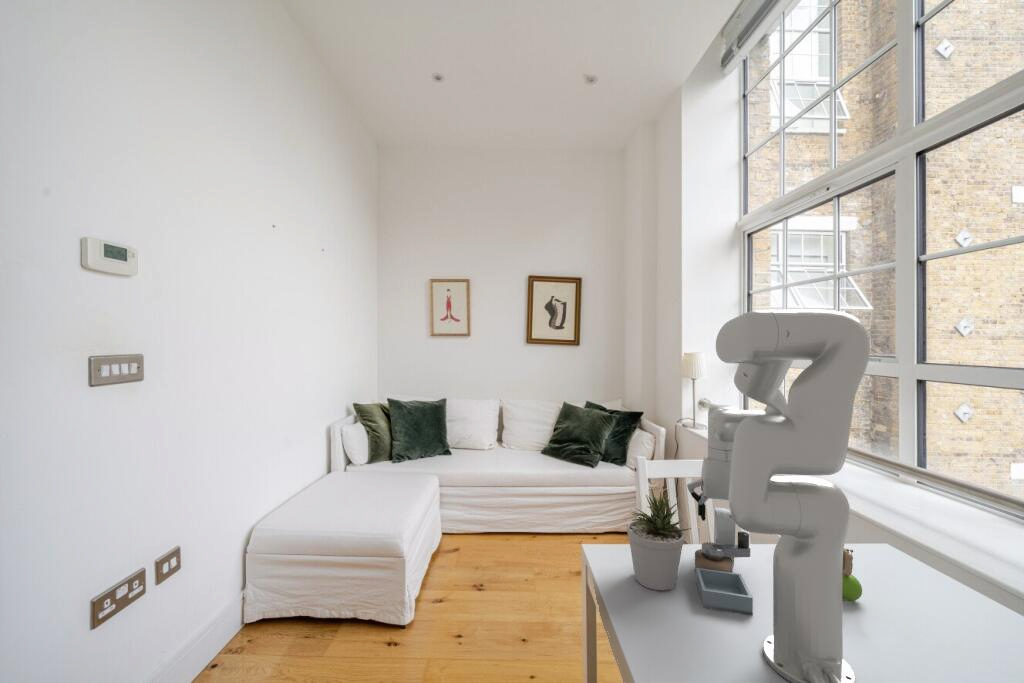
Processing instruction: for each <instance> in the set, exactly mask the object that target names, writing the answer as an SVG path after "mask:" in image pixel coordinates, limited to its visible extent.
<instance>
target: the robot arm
mask: <svg viewBox="0 0 1024 683" xmlns="http://www.w3.org/2000/svg"><path fill="white" fill-rule="evenodd" d="M715 353H716V355H717V357H718V358H719V360H720V361H721V362H723V363H725V364H738V366H737V369H736V371H735V373H734V377H733V383H734V385H735V387H736V389H737V390H738V391H739V392H740V393H742V394H743V395H744V396H746V397H747V398H749V399H752V400H753V401H756V402H758V403H761V404H764V405H766V406H765V408H764V409H763V410H755V409H754V410H753V409H752V410H751V409H748V410H747V409H740V408H738V407H737V406H734V405H727V404H713V405H711V406H709V408H708V410H707V455H705V456H704V457H703V461H702V467H701V475H700V478H699V479H696V480H695V481H691V482H690V483H687V484H686V487H687V490H688V491H689V493H690V495H691V497H692V498H693V499H694V500H695V501H696V502H697V515H698V516H700V519H701V521H703V522H704V521H706V504H705V502H707V501H708V500H709V499H711V500H720V501H727V502H728V506H729V508H728V509H730V513H731V516H732V518H733V520H734V522H735V525H736V526H737V527H739V528H740V529H741V530H744V531H746V532H747V533H748V532H749V533H754V534H763V535H780V538H779V539H778V541H777V543H776V545H775V547H774V551H773V556H772V557H773V558H772V561H773V563H772V567H773V569H772V570H773V571H772V572H773V573H772V574H773V575H772V576H773V577H772V580H773V581H772V582H773V583H772V584H773V587H772V589H773V590H772V591H773V592H772V594H773V595H772V598H773V600H772V601H773V602H772V604H773V605H772V607H773V612H772V613H773V615H772V616H773V619H772V620H773V622H772V625H773V626H772V627H773V630H772V631H773V634H772V635H769V636H768V637H766V638H765V639H764V641H763V644H762V653H763V656H764V658H765V660H766V662H767V663H768V664H769V665H770V667H771V668H772V669H773V670H775V672H776V673H777V674H779V675H780V676H782V677H783V678H784V679H786V680H787V681H789V682H790V683H856V676H855V672H854V671H853V669H852V667H851V666H850V665H849V663H847V661H846V660H845V659H844V658H843V653H844V652H843V645H844V644H843V640H844V639H843V599H842V567H843V550H844V549H845V544H846V538H847V535H848V534H847V533H848V530H849V527H850V521H851V507H850V503H849V500H848V498H847V495H846V494H845V493H844V492H843V491H842V489H841V488H840V487H839V486H837V485H836V484H834V483H833V482H830V481H829V480H827V479H823V478H819V476H830V475H835V474H837V473H839V472H840V471H841V470H842V469H843V467H844V465H845V461H846V459H847V454H848V453H847V452H848V449H849V447H848V446H849V440H850V433H851V429H852V428H851V427H852V420H853V413H854V406H855V405H854V404H855V400H856V395H857V392H858V390H859V387H860V384H861V382H862V379H863V377H864V375H865V372H866V370H867V367H868V363H869V359H870V353H871V343H870V337H869V334H868V332H867V329H866V327H865V326H864V325H863V323H862V322H861V321H860V320H859V319H858V318H857V317H856V316H853V315H851V314H849V313H846V312H843V311H837V310H828V309H782V310H781V309H778V310H777V309H775V310H774V309H769V310H768V309H764V310H763V309H761V310H760V309H759V310H751V311H747V312H744V313H743V314H742V313H741V315H738V316H736V317H734V318H732V319H729V320H728V321H726V322H725V323H724V324H723V325H722V327H721V328H720V329H719V331H718V333H717V336H716V339H715ZM807 360H808V361H811V362H812V363H811V364H809V365H808V366H807V367H806V368H805V369H804V370H802V371H801V372H800V373H799V375H798V376H797V377H796V378H795V379H794V380H793V382H792V383H791V386H790V387H789V390H788V395H787V396H788V397H787V400H786V397H785V395H784V394H783V392H782V390H781V389H780V388H781V385H782V383H783V382H784V379H785V377H786V376H787V373H788V371H789V370H790V367H791V365H792V363H793V361H807ZM815 476H818V477H815ZM696 488H700V491H701V493H699V494H698V493H697V492H696V490H695V489H696Z"/></svg>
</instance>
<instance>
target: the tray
mask: <svg viewBox="0 0 1024 683" xmlns="http://www.w3.org/2000/svg"><path fill="white" fill-rule="evenodd" d="M695 584H696V588H697V592H698V594H699V598H700V602H701V606H702V608H706V609H711V610H717V611H722V612H723V611H724V612H728V613H729V612H730V613H736V614H742V615H747V616H753V615H754V613H753V612H754V606H753V605H754V599H753V596H752V593H751V591H750V590H749V588H748V585H747V583H746V582H745V580H744V577H743V576H742V574H741V573H737V572H732V573H730V572H723V571H716V570H709V569H702V568H696V572H695Z"/></svg>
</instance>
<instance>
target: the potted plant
mask: <svg viewBox="0 0 1024 683" xmlns="http://www.w3.org/2000/svg"><path fill="white" fill-rule="evenodd" d="M659 493H660V495H659V499H657V497H656V496H655V494H654V491H653V487H651V496H652V498H651V497H650V496H649V495H647V494H645V497H646V500H647V502H648V504H649V506H648V505H647V506H646V507H647V508H648V509H650V510H651V512H652V513H650V515H648V514H647V513H646V512H644V511H642V510H640V509H639V508H636V507H635V508H636V510H637V511H638V512H634V511H631V513H632V514H631V516H632V515H633V517H637V518H635V519H632V520H631V521H630V522H628V524H627V525H626V531H627V536H628V540H629V547H630V553H631V559H632V560H631V561H632V566H633V572H634V577H635V580H637V583H639V584H640V585H641V586H644V587H645V588H647V589H650V590H654V591H668V590H671V589H673V588H674V587H675V586H676V584H677V583H676V582H677V581H678V573H679V568H680V561H681V555H682V550H683V545H684V542H685V537H686V536H685V531H688V530H689V531H690V530H691V529H692V528H691V527H689V528H684V529H683V528H682V529H681V528H680V527H678V525H680V523H681V522H682V520H683V518H681V519H680V520H678V521H677V522H673V523H671V519H672V518H673V516H674V515H675V514H676V512H677V510H678V509H675V510H674V511H673V512H672V509H673V508H674V507H676V506H677V505H678V504H680V501H678V502H677V503H675V504H674V505H672V506H671V507H670V505H669V501H670V500H669V499H668V490H666V494H665V492H663V493H662V491H660V492H659ZM664 496H665V498H664ZM666 507H667V508H668V510H667V512H665V511H666ZM639 512H640V513H639Z"/></svg>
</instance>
